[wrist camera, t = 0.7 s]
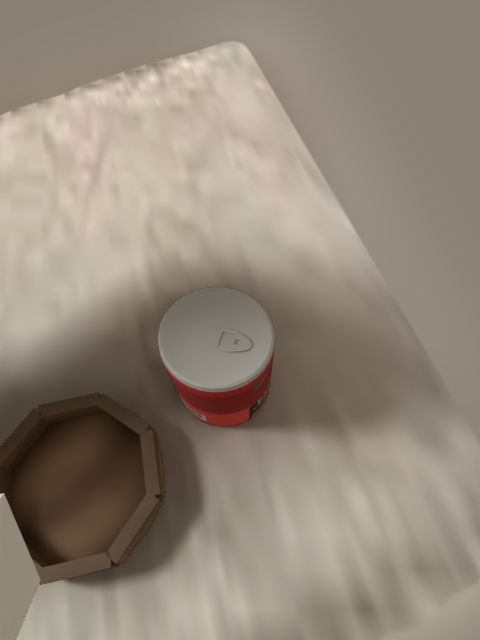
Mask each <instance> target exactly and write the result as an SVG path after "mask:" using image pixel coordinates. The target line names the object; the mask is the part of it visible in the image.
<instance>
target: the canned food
mask: <svg viewBox="0 0 480 640" xmlns="http://www.w3.org/2000/svg"><path fill="white" fill-rule="evenodd" d="M274 344H275V339H274V330H273V326H272V323H271V320H270V318H269V316H268V314H267V312H266V311H265V309H264V308H263V307H262V306H261V305H260V304H259V303H258V302H257V301H256V300H254V299H253V298H252V297H250V296H248V295H246V294H245V293H243V292H240V291H237V290H234V289H231V288H223V287H209V288H204V289H199V290H196V291H193V292H191V293H188V294H186V295H185V296H183V297H181V298H180V299H178V300H177V301H176V302H175V303H174V304H173V305H172V306H171V307H170V308H169V309H168V311H167V312H166V313H165V315H164V317H163V319H162V321H161V323H160V327H159V331H158V345H159V351H160V356H161V358H162V360H163V363H164V365H165V367H166V370H167V372H168V374H169V376H170V378H171V379H172V381H173V383H174V385H175V387H176V389H177V391H178V393H179V395H180V397H181V399H182V401H183V403H184V405H185V406H186V408H187V409H188V410H189V412H191V413H192V414H193V415H194V416H195V417H196V418H198V419H199V420H201V421H203V422H205V423H208V424H210V425H215V426H233V425H238V424H241V423H243V422H245V421H248V420H249V419H250V418H252V417H253V416H255V415H256V414H257V413H258V412H259V411H260V410H261V408H262V407H263V405H264V403H265V402H266V399H267V396H268V392H269V385H270V377H271V370H272V362H273V354H274Z"/></svg>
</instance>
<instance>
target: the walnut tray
mask: <svg viewBox="0 0 480 640" xmlns="http://www.w3.org/2000/svg"><path fill="white" fill-rule="evenodd" d="M163 483H164V472H163V463H162V458H161V455H160V452H159V446H158V439H157V434H156V433H155V432H154V430H153V428H152V427H151V426H150V425H149V424H147V423H146V422H144V421H143V420H141V419H140V418H138V417H137V416H135V415H134V414H132V413H131V412H129V411H128V410H126V409H125V408H124V407H122V406H121V405H119V404H118V403H116V402H115V401H113V400H112V399H110V398H109V397H107V396H106V395H104V394H102V395H100V394H99V393H95V394H90V395H86V396H81V397H76V398H72V399H67V400H62V401H57V402H53V403H48V404H43V405H39V411H38V410H36V409H33V410H32V411H31V412H30V414H29V415H28V416H27V417H26V418H25V419H24V420H23V422H22V423H21V424H20V425H19V426H18V427H17V429H16V430H15V431H14V432H13V433H12V434H11V436H10V437H9V438H8V439H7V440H6V441H5V443H4V444H3V445H2V446H1V447H0V494H3V493H4V495H5V497H6V499H7V502H8V504H9V506H10V509H11V511H12V513H13V516H14V518H15V521H16V523H17V525H18V528H19V530H20V532H21V535H22V537H23V539H24V542H25V544H26V547H27V549H28V551H29V554H30V556H31V558H32V561H33V563H34V565H35V568H36V570H37V573H38V575H39V577H40V582H39V583H40V585H41V584H46V583H51V582H55V581H59V580H63V579H67V578H72V577H76V576H80V575H84V574H88V573H92V572H96V571H100V570H104V569H108V568H112V567H116V566H119V563H123V562H124V561H125V560H126V558H127V557H128V555H129V554H130V552H131V551H132V549H133V548H134V547H135V546H136V545H137V544H138V543H139V542H140V540H141V539H142V538H143V536H144V535H145V534H146V532H147V531H148V529H149V527H150V526H151V524H152V522H153V520H154V518H155V516H156V513H157V511H158V510H159V508H160V507H161V505H162V504H163V501H162V500H161V498H162V497H165V492H164V485H163Z"/></svg>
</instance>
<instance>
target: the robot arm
mask: <svg viewBox="0 0 480 640" xmlns="http://www.w3.org/2000/svg"><path fill="white" fill-rule="evenodd" d="M39 582H40V577H39V575H38V573H37V570H36V568H35V565H34V563H33V561H32V558H31V556H30V554H29V551H28V549H27V547H26V544H25V542H24V539H23V537H22V535H21V532H20V530H19V528H18V525H17V523H16V521H15V518H14V516H13V513H12V511H11V509H10V506H9V504H8V502H7V499H6V497H5V495H4V493H3V494H0V640H16V639H17V636H18V634H19V631H20V629H21V627H22V624H23V622H24V619H25V617H26V614H27V612H28V609H29V607H30V605H31V602H32V600H33V597H34V595H35V592H36V590H37V587H38V585H39Z"/></svg>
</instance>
